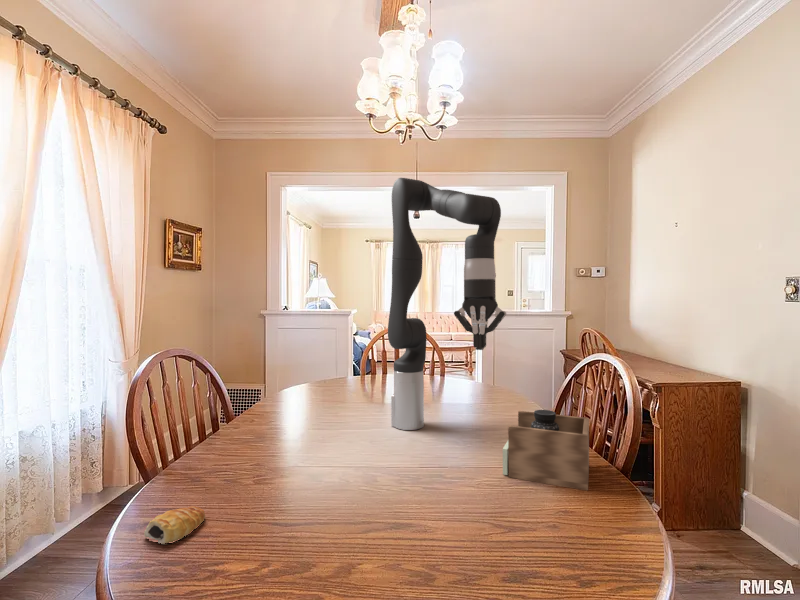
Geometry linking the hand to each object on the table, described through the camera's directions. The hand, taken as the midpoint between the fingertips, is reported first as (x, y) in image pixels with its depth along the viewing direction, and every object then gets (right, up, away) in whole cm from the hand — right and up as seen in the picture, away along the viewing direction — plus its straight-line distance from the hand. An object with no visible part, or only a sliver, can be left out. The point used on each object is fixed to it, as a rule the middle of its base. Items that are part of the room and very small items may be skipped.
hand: (480, 349), depth 103 cm
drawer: (+13, -27, -6) cm, 30 cm away
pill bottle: (+14, -25, -6) cm, 29 cm away
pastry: (-58, -28, -30) cm, 71 cm away
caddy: (+15, -27, -7) cm, 31 cm away
